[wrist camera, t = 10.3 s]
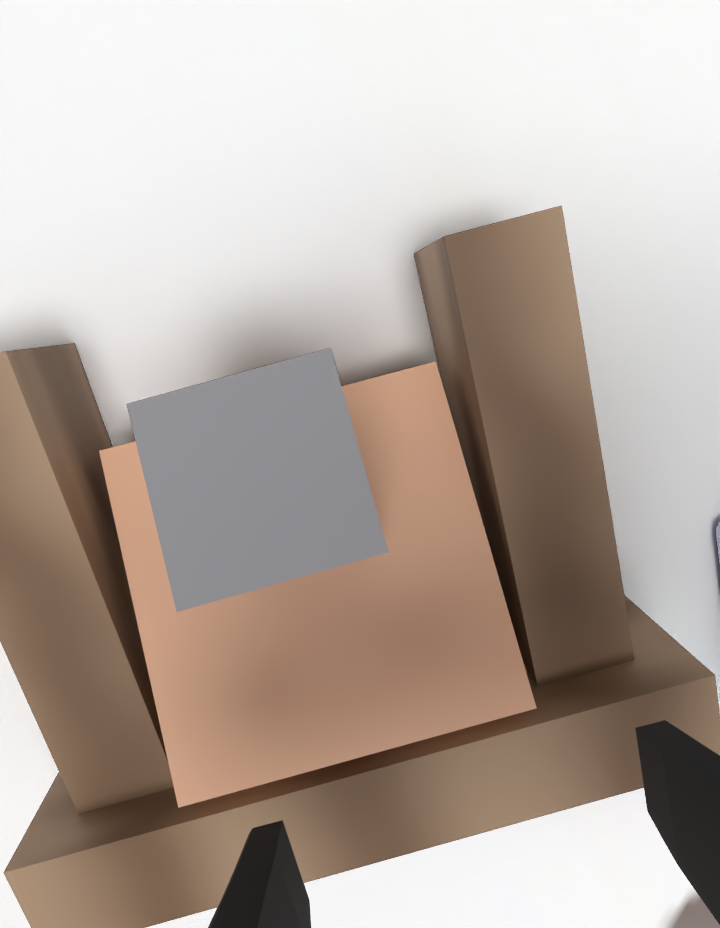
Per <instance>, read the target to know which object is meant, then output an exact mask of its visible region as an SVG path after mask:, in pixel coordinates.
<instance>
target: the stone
mask: <svg viewBox="0 0 720 928" xmlns="http://www.w3.org/2000/svg"><path fill="white" fill-rule="evenodd" d="M127 408H128V412H129V416H130V420H131V424H132V429H133V433H134V437H135V441H136V445H137V449H138V454H139V458H140V462H141V466H142V470H143V474H144V478H145V483H146V487H147V491H148V495H149V499H150V503H151V508H152V512H153V516H154V520H155V524H156V528H157V533H158V537H159V541H160V545H161V549H162V553H163V557H164V562H165V566H166V570H167V574H168V578H169V582H170V587H171V591H172V595H173V599H174V603H175V607H176V612H179V611H182V610H186V609H190V608H193V607H197V606H200V605H204V604H207V603H211V602H214V601H218V600H221V599H225V598H228V597H232V596H236V595H239V594H243V593H246V592H250V591H253V590H257V589H260V588H264V587H267V586H271V585H274V584H278V583H282V582H285V581H289V580H292V579H296V578H299V577H303V576H306V575H310V574H313V573H317V572H320V571H324V570H328V569H331V568H335V567H338V566H342V565H345V564H349V563H352V562H356V561H359V560H363V559H366V558H370V557H374V556H377V555H381V554H384V553H388V549H387V546H386V542H385V539H384V535H383V531H382V528H381V524H380V521H379V517H378V514H377V510H376V507H375V503H374V500H373V496H372V492H371V489H370V485H369V482H368V478H367V475H366V471H365V468H364V464H363V461H362V457H361V454H360V450H359V446H358V443H357V439H356V436H355V432H354V429H353V425H352V422H351V418H350V415H349V411H348V408H347V404H346V400H345V397H344V393H343V390H342V386H341V383H340V379H339V376H338V372H337V369H336V365H335V362H334V358H333V354H332V351H331V348H328V349H324V350H321V351H317V352H313V353H310V354H306V355H303V356H299V357H295V358H292V359H288V360H284V361H281V362H277V363H274V364H270V365H266V366H263V367H259V368H255V369H252V370H248V371H245V372H241V373H237V374H234V375H230V376H226V377H223V378H219V379H215V380H212V381H208V382H205V383H201V384H197V385H194V386H190V387H186V388H183V389H179V390H176V391H172V392H168V393H165V394H161V395H157V396H154V397H150V398H147V399H143V400H139V401H136V402H132V403H128V404H127Z"/></svg>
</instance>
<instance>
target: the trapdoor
mask: <svg viewBox="0 0 720 928" xmlns="http://www.w3.org/2000/svg"><path fill="white" fill-rule="evenodd" d="M342 390H343V393H344V397H345V400H346V404H347V408H348V411H349V415H350V418H351V422H352V425H353V429H354V432H355V436H356V439H357V443H358V446H359V450H360V454H361V457H362V461H363V464H364V468H365V471H366V475H367V478H368V482H369V485H370V489H371V492H372V496H373V500H374V503H375V507H376V510H377V514H378V517H379V521H380V524H381V528H382V531H383V535H384V539H385V542H386V546H387V549H388V553H384V554H381V555H377V556H374V557H370V558H366V559H363V560H359V561H356V562H352V563H349V564H345V565H342V566H338V567H335V568H331V569H328V570H324V571H320V572H317V573H313V574H310V575H306V576H303V577H299V578H296V579H292V580H289V581H285V582H282V583H278V584H274V585H271V586H267V587H264V588H260V589H257V590H253V591H250V592H246V593H243V594H239V595H236V596H232V597H228V598H225V599H221V600H218V601H214V602H211V603H207V604H204V605H200V606H197V607H193V608H190V609H186V610H182V611H179V612H176V607H175V603H174V599H173V595H172V591H171V587H170V582H169V578H168V574H167V570H166V566H165V562H164V557H163V553H162V549H161V545H160V541H159V537H158V533H157V528H156V524H155V520H154V516H153V512H152V508H151V503H150V499H149V495H148V491H147V487H146V483H145V478H144V474H143V470H142V466H141V462H140V458H139V454H138V449H137V445H136V441H134V442H130V443H126V444H123V445H119V446H115V447H111V448H108V449H104V450H100V451H99V453H100V458H101V462H102V467H103V471H104V476H105V480H106V485H107V489H108V494H109V498H110V503H111V507H112V512H113V516H114V521H115V525H116V530H117V534H118V539H119V543H120V548H121V552H122V557H123V561H124V566H125V570H126V575H127V579H128V584H129V588H130V593H131V597H132V601H133V606H134V610H135V615H136V619H137V624H138V628H139V633H140V637H141V642H142V646H143V651H144V655H145V660H146V664H147V669H148V673H149V678H150V682H151V687H152V691H153V696H154V700H155V705H156V709H157V714H158V718H159V723H160V727H161V732H162V736H163V741H164V745H165V750H166V754H167V759H168V763H169V768H170V772H171V777H172V781H173V786H174V790H175V795H176V799H177V804H178V808H179V807H183V806H187V805H190V804H194V803H197V802H201V801H205V800H208V799H212V798H215V797H219V796H223V795H226V794H230V793H233V792H237V791H241V790H244V789H248V788H252V787H255V786H259V785H262V784H266V783H270V782H273V781H277V780H280V779H284V778H288V777H291V776H295V775H298V774H302V773H306V772H309V771H313V770H316V769H320V768H324V767H327V766H331V765H334V764H338V763H342V762H345V761H349V760H352V759H356V758H360V757H363V756H367V755H370V754H374V753H378V752H381V751H385V750H388V749H392V748H396V747H399V746H403V745H406V744H410V743H414V742H417V741H421V740H425V739H428V738H432V737H435V736H439V735H443V734H446V733H450V732H453V731H457V730H461V729H464V728H468V727H471V726H475V725H479V724H482V723H486V722H489V721H493V720H497V719H500V718H504V717H507V716H511V715H515V714H518V713H522V712H525V711H529V710H533V709H536V704H535V701H534V697H533V694H532V691H531V687H530V684H529V680H528V677H527V673H526V670H525V666H524V663H523V660H522V656H521V653H520V649H519V646H518V642H517V639H516V635H515V632H514V629H513V625H512V622H511V618H510V615H509V611H508V608H507V605H506V601H505V598H504V594H503V591H502V587H501V584H500V580H499V577H498V574H497V570H496V567H495V563H494V560H493V556H492V553H491V549H490V546H489V543H488V539H487V536H486V532H485V529H484V525H483V522H482V518H481V515H480V512H479V508H478V505H477V501H476V498H475V494H474V491H473V487H472V484H471V481H470V477H469V474H468V470H467V467H466V463H465V460H464V457H463V453H462V450H461V446H460V443H459V439H458V436H457V432H456V429H455V426H454V422H453V419H452V415H451V412H450V408H449V405H448V401H447V398H446V395H445V391H444V388H443V384H442V381H441V377H440V374H439V370H438V367H437V364H436V361H435V362H431V363H427V364H423V365H420V366H416V367H412V368H408V369H404V370H401V371H397V372H393V373H389V374H386V375H382V376H378V377H374V378H371V379H367V380H363V381H359V382H356V383H352V384H348V385H344V386H342Z"/></svg>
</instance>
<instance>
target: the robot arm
mask: <svg viewBox="0 0 720 928" xmlns="http://www.w3.org/2000/svg"><path fill="white" fill-rule="evenodd" d="M716 536H717V545H718V553H719V562H720V522H719V523H718V525H717V528H716ZM635 730H636V736H637V743H638V750H639V756H640V763H641V770H642V776H643V783H644V790H645V796H646V803H647V810H648V813H649V814H650V816H651V818H652V820H653V822H654V824H655V825H656V827H657V829H658V831H659V833H660V834H661V836H662V838H663V840H664V842H665V843H666V845H667V847H668V849H669V850H670V852H671V854H672V856H673V857H674V859H675V861H676V862H677V864H678V866H679V867H680V869H681V870H682V872H683V873H684V875H685V876H686V877H687V879H688V880H689V882H690V883H691V885H692V886H693V887H694V889H695V890H696V892H697V893H698V895H699V896H700V897H701V899H702V900H703V902H704V903H705V904H706V906H707V907H708V909H709V910H710V912H711V913H712V914H713V916H714V917H715V919H716V920H717V921H718V923H719V924H720V755H718V754H717V753H715V752H714V751H712V750H711V749H709V748H707V747H706V746H704V745H703V744H701V743H700V742H698V741H697V740H695V739H694V738H692V737H691V736H689V735H687V734H686V733H684V732H683V731H681V730H680V729H678V728H677V727H675V726H673V725H672V724H670V723H669V722H667V721H666V720H663V721H659V722H656V723H652V724H648V725H644V726H640V727H636V728H635ZM208 928H311V920H310V904H309V898H308V895H307V892H306V889H305V886H304V883H303V880H302V877H301V874H300V871H299V868H298V865H297V862H296V859H295V856H294V853H293V850H292V847H291V844H290V841H289V838H288V835H287V832H286V829H285V826H284V823H283V820H281V821H277V822H274V823H270V824H266V825H262V826H258V827H255V828H252V830H251V831H250V833H249V835H248V837H247V840H246V842H245V845H244V847H243V850H242V852H241V854H240V857H239V859H238V862H237V864H236V867H235V869H234V871H233V874H232V876H231V878H230V881H229V883H228V885H227V888H226V890H225V892H224V894H223V897H222V899H221V901H220V903H219V905H218V908H217V910H216V912H215V914H214V916H213V918H212V921H211V923H210V925H209V927H208Z"/></svg>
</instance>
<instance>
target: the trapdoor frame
mask: <svg viewBox="0 0 720 928" xmlns="http://www.w3.org/2000/svg"><path fill="white" fill-rule="evenodd" d="M414 258H415V262H416V267H417V271H418V276H419V280H420V285H421V289H422V294H423V298H424V303H425V307H426V312H427V316H428V321H429V325H430V330H431V334H432V339H433V343H434V348H435V352H436V357H437V362H438V366H439V371H440V375H441V380H442V384H443V388H444V391H445V395H446V398H447V401H448V405H449V408H450V412H451V415H452V419H453V422H454V426H455V429H456V432H457V436H458V439H459V443H460V446H461V450H462V453H463V457H464V460H465V463H466V467H467V470H468V474H469V477H470V481H471V484H472V487H473V491H474V494H475V498H476V501H477V505H478V508H479V512H480V515H481V518H482V522H483V525H484V529H485V532H486V536H487V539H488V543H489V546H490V549H491V553H492V556H493V560H494V563H495V567H496V570H497V574H498V577H499V580H500V584H501V587H502V591H503V594H504V598H505V601H506V605H507V608H508V611H509V615H510V618H511V622H512V625H513V629H514V632H515V635H516V639H517V642H518V646H519V649H520V653H521V656H522V660H523V663H524V666H525V670H526V673H527V677H528V680H529V684H530V687H531V691H532V694H533V697H534V701H535V704H536V709H533V710H529V711H525V712H522V713H518V714H515V715H511V716H507V717H504V718H500V719H497V720H493V721H489V722H486V723H482V724H479V725H475V726H471V727H468V728H464V729H461V730H457V731H453V732H450V733H446V734H443V735H439V736H435V737H432V738H428V739H425V740H421V741H417V742H414V743H410V744H406V745H403V746H399V747H396V748H392V749H388V750H385V751H381V752H378V753H374V754H370V755H367V756H363V757H360V758H356V759H352V760H349V761H345V762H342V763H338V764H334V765H331V766H327V767H324V768H320V769H316V770H313V771H309V772H306V773H302V774H298V775H295V776H291V777H288V778H284V779H280V780H277V781H273V782H270V783H266V784H262V785H259V786H255V787H252V788H248V789H244V790H241V791H237V792H233V793H230V794H226V795H223V796H219V797H215V798H212V799H208V800H205V801H201V802H197V803H194V804H190V805H187V806H183V807H179V808H178V804H177V799H176V795H175V790H174V786H173V781H172V777H171V772H170V768H169V763H168V759H167V754H166V750H165V745H164V741H163V736H162V732H161V727H160V723H159V718H158V714H157V709H156V705H155V700H154V696H153V691H152V687H151V682H150V678H149V673H148V669H147V664H146V660H145V655H144V651H143V646H142V642H141V637H140V633H139V628H138V624H137V619H136V615H135V610H134V606H133V601H132V597H131V593H130V588H129V584H128V579H127V575H126V570H125V566H124V561H123V557H122V552H121V548H120V543H119V539H118V534H117V530H116V525H115V521H114V516H113V512H112V507H111V503H110V498H109V494H108V489H107V485H106V480H105V476H104V471H103V467H102V462H101V458H100V453H99V451H100V450H104V449H108V448H111V447H112V445H111V442H110V439H109V437H108V434H107V431H106V428H105V426H104V423H103V420H102V418H101V415H100V412H99V409H98V407H97V404H96V401H95V398H94V396H93V393H92V390H91V388H90V385H89V382H88V379H87V377H86V374H85V371H84V368H83V366H82V363H81V360H80V358H79V355H78V352H77V349H76V347H75V344H74V343H73V344H65V345H56V346H48V347H39V348H31V349H22V350H14V351H6V352H2V353H0V642H1V644H2V646H3V648H4V650H5V653H6V655H7V657H8V659H9V662H10V664H11V666H12V668H13V670H14V673H15V675H16V677H17V679H18V682H19V684H20V686H21V688H22V690H23V693H24V695H25V697H26V699H27V701H28V704H29V706H30V708H31V710H32V713H33V715H34V717H35V719H36V721H37V724H38V726H39V728H40V730H41V733H42V735H43V737H44V739H45V741H46V744H47V746H48V748H49V750H50V752H51V755H52V757H53V759H54V761H55V764H56V766H57V768H58V770H59V773H58V774H57V776H56V778H55V780H54V782H53V784H52V785H51V787H50V789H49V791H48V793H47V795H46V796H45V798H44V800H43V802H42V804H41V806H40V807H39V809H38V811H37V813H36V815H35V816H34V818H33V820H32V822H31V824H30V826H29V827H28V829H27V831H26V833H25V835H24V837H23V838H22V840H21V842H20V844H19V846H18V848H17V849H16V851H15V853H14V855H13V857H12V858H11V860H10V862H9V864H8V866H7V868H6V869H5V871H4V875H5V877H6V879H7V880H8V882H9V884H10V886H11V888H12V890H13V892H14V894H15V896H16V898H17V900H18V902H19V904H20V906H21V908H22V910H23V912H24V914H25V916H26V918H27V920H28V922H29V924H30V926H31V928H145V927H149V926H152V925H156V924H160V923H163V922H167V921H170V920H174V919H177V918H181V917H184V916H188V915H192V914H195V913H199V912H202V911H206V910H209V909H213V908H216V907H218V905H219V903H220V901H221V899H222V897H223V894H224V892H225V890H226V888H227V885H228V883H229V881H230V878H231V876H232V874H233V871H234V869H235V867H236V864H237V862H238V859H239V857H240V854H241V852H242V850H243V847H244V845H245V842H246V840H247V837H248V835H249V833H250V831H251V830H252V828H255V827H258V826H262V825H266V824H270V823H274V822H277V821H281V820H283V823H284V826H285V829H286V832H287V835H288V838H289V841H290V844H291V847H292V850H293V853H294V856H295V859H296V862H297V865H298V868H299V871H300V874H301V877H302V880H303V883H306V882H309V881H313V880H316V879H320V878H323V877H327V876H330V875H334V874H338V873H341V872H345V871H348V870H352V869H355V868H359V867H363V866H366V865H370V864H373V863H377V862H380V861H384V860H387V859H391V858H395V857H398V856H402V855H405V854H409V853H412V852H416V851H420V850H423V849H427V848H430V847H434V846H437V845H441V844H444V843H448V842H452V841H455V840H459V839H462V838H466V837H469V836H473V835H477V834H480V833H484V832H487V831H491V830H494V829H498V828H501V827H505V826H509V825H512V824H516V823H519V822H523V821H526V820H530V819H534V818H537V817H541V816H544V815H548V814H551V813H555V812H558V811H562V810H566V809H569V808H573V807H576V806H580V805H583V804H587V803H591V802H594V801H598V800H601V799H605V798H608V797H612V796H615V795H619V794H623V793H626V792H630V791H633V790H637V789H640V788H644V783H643V776H642V770H641V763H640V756H639V750H638V743H637V736H636V730H635V728H636V727H640V726H644V725H648V724H652V723H656V722H659V721H663V720H666V721H667V722H669V723H670V724H672V725H673V726H675V727H677V728H678V729H680V730H681V731H683V732H684V733H686V734H687V735H689V736H691V737H692V738H694V739H695V740H697V741H698V742H700V743H701V744H703V745H704V746H706V747H707V748H709V749H711V750H712V751H714V752H715V753H717V754H718V755H720V712H719V704H718V696H717V688H716V680H715V675H714V674H713V673H712V672H711V671H710V670H709V669H707V668H706V667H705V666H704V665H703V664H702V663H701V662H700V661H698V660H697V659H696V658H695V657H694V656H693V655H692V654H690V653H689V652H688V651H687V650H686V649H685V648H684V647H683V646H681V645H680V644H679V643H678V642H677V641H676V640H675V639H674V638H672V637H671V636H670V635H669V634H668V633H667V632H666V631H664V630H663V629H662V628H661V627H660V626H659V625H658V624H657V623H655V622H654V621H653V620H652V619H651V618H650V617H649V616H648V615H646V614H645V613H644V612H643V611H642V610H641V609H640V608H638V607H637V606H636V605H635V604H634V603H633V602H632V601H631V600H629V599H628V598H627V597H626V596H625V595H624V591H623V585H622V579H621V572H620V566H619V560H618V554H617V547H616V541H615V535H614V529H613V522H612V516H611V510H610V504H609V497H608V491H607V485H606V479H605V472H604V466H603V460H602V454H601V448H600V441H599V435H598V429H597V423H596V416H595V410H594V404H593V398H592V391H591V385H590V379H589V373H588V366H587V360H586V354H585V348H584V341H583V335H582V329H581V323H580V316H579V310H578V304H577V298H576V291H575V285H574V279H573V273H572V267H571V260H570V254H569V248H568V242H567V235H566V229H565V223H564V217H563V210H562V206H558V207H554V208H550V209H547V210H543V211H539V212H535V213H531V214H527V215H524V216H520V217H516V218H512V219H508V220H505V221H501V222H497V223H493V224H489V225H486V226H482V227H478V228H474V229H470V230H467V231H463V232H459V233H455V234H451V235H447V236H444V237H442V238H440V239H439V240H437V241H435V242H434V243H432V244H430V245H429V246H427V247H425V248H423V249H422V250H420V251H418V252H417V253H415V254H414Z"/></svg>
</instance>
